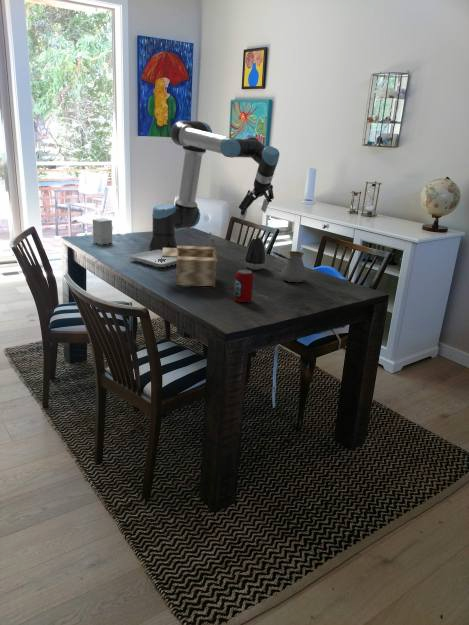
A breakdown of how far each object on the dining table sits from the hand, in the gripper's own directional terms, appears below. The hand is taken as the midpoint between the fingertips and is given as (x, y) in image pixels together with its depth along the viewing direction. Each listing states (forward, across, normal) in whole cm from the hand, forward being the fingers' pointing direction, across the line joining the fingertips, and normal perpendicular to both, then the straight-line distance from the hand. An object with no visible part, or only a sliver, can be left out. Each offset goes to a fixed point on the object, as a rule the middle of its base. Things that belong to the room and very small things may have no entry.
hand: (252, 214), depth 243 cm
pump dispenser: (+14, -11, -20) cm, 27 cm away
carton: (+3, -51, -18) cm, 54 cm away
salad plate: (+20, -46, +9) cm, 51 cm away
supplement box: (+41, -53, +50) cm, 84 cm away
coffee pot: (+2, -13, -40) cm, 43 cm away
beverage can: (-11, -46, -46) cm, 66 cm away
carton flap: (-12, -39, -16) cm, 43 cm away
